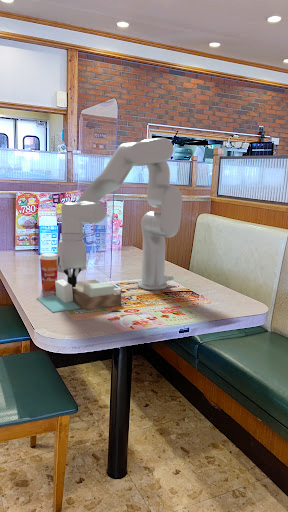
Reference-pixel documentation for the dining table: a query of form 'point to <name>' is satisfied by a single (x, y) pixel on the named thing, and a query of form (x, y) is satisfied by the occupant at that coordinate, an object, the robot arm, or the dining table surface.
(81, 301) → the riser
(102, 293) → the pale green block
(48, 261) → the paper cup
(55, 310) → the mat
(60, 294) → the white rectangular block
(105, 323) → the dining table surface
